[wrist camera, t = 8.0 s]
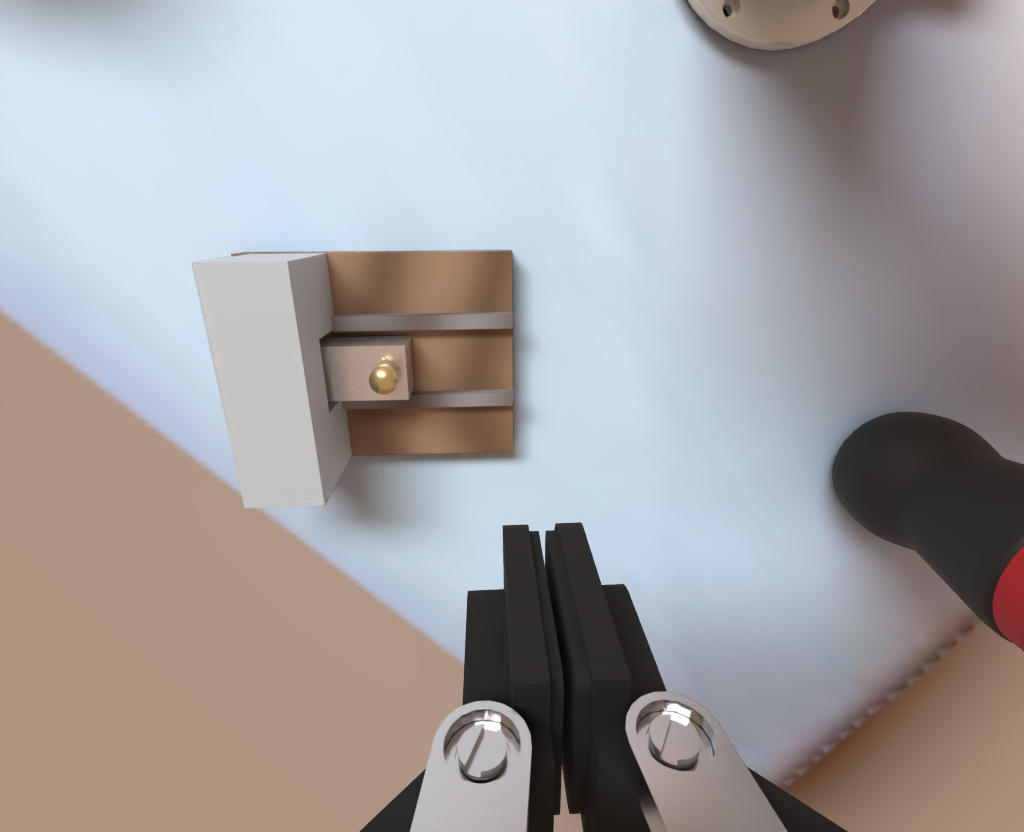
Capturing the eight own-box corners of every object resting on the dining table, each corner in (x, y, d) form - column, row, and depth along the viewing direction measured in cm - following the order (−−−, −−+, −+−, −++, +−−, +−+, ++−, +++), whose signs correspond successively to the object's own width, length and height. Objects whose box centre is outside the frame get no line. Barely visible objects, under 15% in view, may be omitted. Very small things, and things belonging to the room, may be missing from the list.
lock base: (510, 250, 30) (512, 252, 28) (511, 441, 34) (513, 456, 32) (243, 252, 29) (225, 254, 27) (278, 447, 33) (265, 463, 31)
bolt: (410, 335, 29) (400, 352, 26) (414, 386, 30) (405, 409, 27) (266, 338, 29) (235, 355, 25) (275, 389, 30) (246, 412, 26)
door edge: (326, 253, 28) (287, 261, 22) (351, 455, 32) (324, 505, 26) (250, 253, 28) (191, 262, 22) (286, 457, 32) (244, 508, 26)
